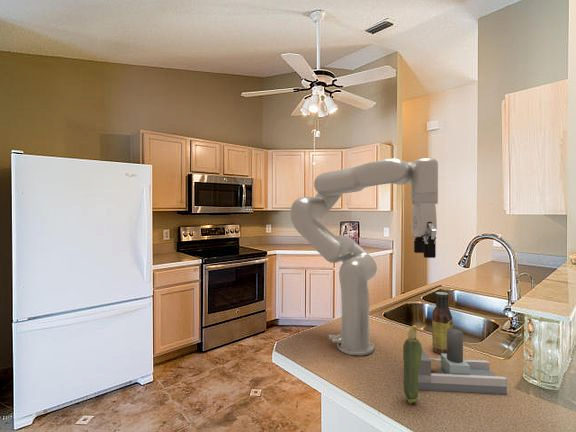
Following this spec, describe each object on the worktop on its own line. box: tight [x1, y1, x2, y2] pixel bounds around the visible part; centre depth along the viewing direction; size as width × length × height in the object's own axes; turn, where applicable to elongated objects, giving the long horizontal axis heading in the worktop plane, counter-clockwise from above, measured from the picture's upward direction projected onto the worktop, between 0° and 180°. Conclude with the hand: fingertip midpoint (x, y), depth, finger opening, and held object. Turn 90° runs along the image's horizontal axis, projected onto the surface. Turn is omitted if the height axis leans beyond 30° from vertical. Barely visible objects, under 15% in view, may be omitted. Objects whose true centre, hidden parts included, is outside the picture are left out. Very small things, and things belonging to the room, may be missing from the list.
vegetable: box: [402, 324, 423, 405], centre depth 80 cm, size 4×4×20 cm
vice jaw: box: [440, 328, 470, 375], centre depth 88 cm, size 5×7×12 cm
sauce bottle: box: [431, 291, 454, 355], centre depth 107 cm, size 6×6×20 cm
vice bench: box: [418, 348, 508, 395], centre depth 89 cm, size 23×10×8 cm, turn 84°
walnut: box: [430, 359, 441, 374], centre depth 89 cm, size 4×4×3 cm
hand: (424, 255), depth 97 cm, fingers open, 9 cm apart
